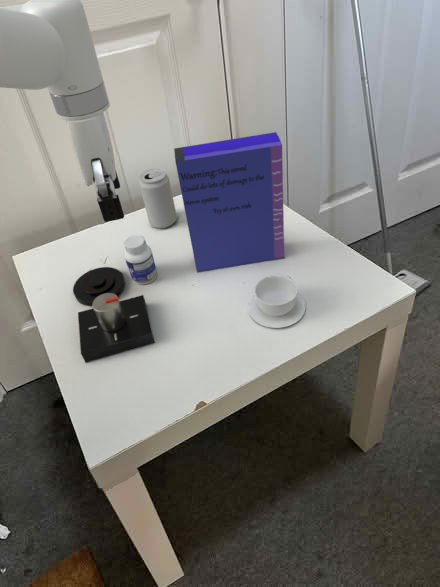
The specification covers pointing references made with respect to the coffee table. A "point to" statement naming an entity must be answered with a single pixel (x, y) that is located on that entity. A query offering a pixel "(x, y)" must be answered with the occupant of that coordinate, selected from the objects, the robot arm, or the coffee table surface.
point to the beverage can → (158, 198)
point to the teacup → (276, 302)
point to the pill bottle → (139, 260)
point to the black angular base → (110, 343)
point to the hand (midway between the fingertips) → (112, 203)
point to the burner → (98, 284)
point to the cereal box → (233, 200)
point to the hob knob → (109, 312)
